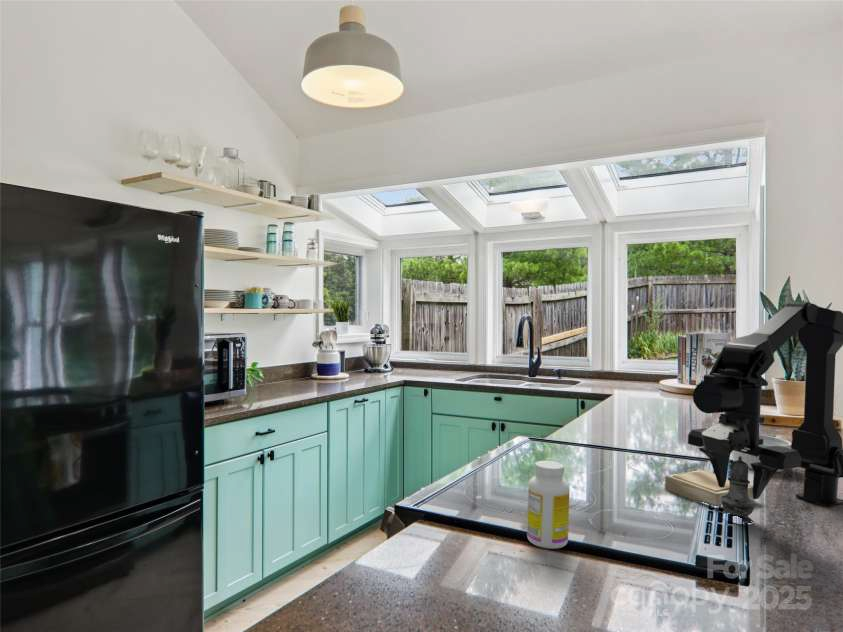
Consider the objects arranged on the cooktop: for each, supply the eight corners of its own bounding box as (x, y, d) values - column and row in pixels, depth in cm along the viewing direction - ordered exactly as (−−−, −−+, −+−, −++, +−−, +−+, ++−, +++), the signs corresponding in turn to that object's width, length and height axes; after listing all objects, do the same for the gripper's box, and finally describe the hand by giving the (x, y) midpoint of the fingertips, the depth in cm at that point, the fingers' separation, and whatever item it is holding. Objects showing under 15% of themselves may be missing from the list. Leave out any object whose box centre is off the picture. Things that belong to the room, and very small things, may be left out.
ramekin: (773, 460, 146) (774, 434, 146) (802, 475, 133) (803, 447, 133) (720, 457, 147) (721, 431, 147) (744, 472, 134) (745, 444, 134)
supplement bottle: (569, 536, 93) (572, 461, 93) (566, 553, 87) (569, 472, 87) (529, 530, 96) (532, 456, 95) (523, 546, 89) (526, 467, 89)
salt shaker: (760, 527, 100) (763, 461, 100) (725, 523, 101) (728, 458, 101) (748, 515, 106) (751, 453, 106) (715, 511, 107) (717, 450, 107)
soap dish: (702, 483, 125) (702, 468, 125) (754, 501, 114) (755, 485, 114) (665, 489, 119) (665, 474, 119) (716, 509, 109) (716, 492, 109)
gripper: (670, 403, 108) (666, 482, 108) (765, 423, 91) (760, 517, 92) (708, 400, 113) (704, 476, 113) (805, 419, 96) (800, 508, 97)
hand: (738, 492), depth 104 cm, fingers open, 6 cm apart
